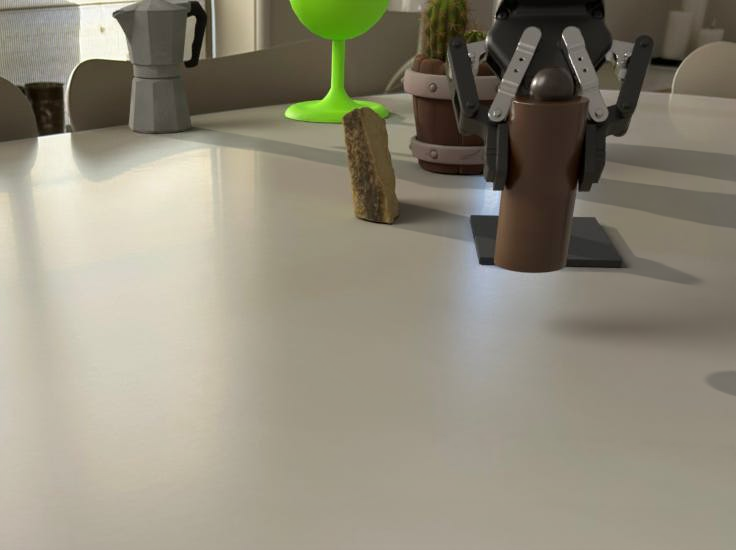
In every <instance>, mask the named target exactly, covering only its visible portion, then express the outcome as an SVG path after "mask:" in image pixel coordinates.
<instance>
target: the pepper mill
mask: <svg viewBox="0 0 736 550" xmlns="http://www.w3.org/2000/svg"><path fill="white" fill-rule="evenodd" d="M573 90H574V84H573V80H572V77H571V75H570V74H569V72H568V71H567V70H566V69H564V68H562V67H560V66H549V67H546V68H544V69H542V70H540V71H539V72H538V73H537V74H536V75H535V77H534V78H533V80H532V82H531V84H530V88H529V94H527V95H519V96H515V97H513V98H512V99H511V105H510V114H509V123H508V124H509V137H508V167H507V177H506V182H505V186H504V191H500V200H499V209H498V215H499V218H498V227H497V236H496V246H495V255H494V263H495V264H494V265H495V266H497V267H498V268H500V269H502V270H505V271H509V272H515V273H522V274H523V273H525V274H527V273H528V274H543V273H544V274H545V273H546V274H547V273H553V272H558V271H560V270H563V269H564V268H565V267H567V266H566V261H567V254H568V248H569V241H570V234H571V227H572V220H573V217H574V213H575V205H576V198H577V191H578V178H579V171H580V164H581V157H582V150H583V143H584V136H585V129H586V122H587V115H588V108H589V102H590V100H589V99H588V98H586V97H583V96H577V95H573Z"/></svg>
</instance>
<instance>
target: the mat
mask: <svg viewBox="0 0 736 550" xmlns="http://www.w3.org/2000/svg"><path fill="white" fill-rule="evenodd" d="M469 217H470V218H469V222H470V227H471V233H472V237H473V242H474V246H475V252H476V256H477V260H478V261H477V262H478V265H495V263H494V255H495V246H496V236H497V227H498V218H499V214H498V215H497V214H496V215H495V214H494V215H493V214H491V215H490V214H470V216H469ZM622 265H623V258H622V257H621V256H620V254H619V253H618V250H616V248H615V246H614V245H613V244H612V242H611V240H610V239H609V237H608V236H607V234H606V232H605V231H604V229H603V227H602V226H601V224H600V223H599V221H598V220H597V217H595V216H573V220H572V227H571V234H570V241H569V248H568V254H567V261H566V266H565V267H586V268H587V267H590V268H622Z"/></svg>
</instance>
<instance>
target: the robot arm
mask: <svg viewBox="0 0 736 550" xmlns="http://www.w3.org/2000/svg"><path fill="white" fill-rule="evenodd" d="M491 9H492V10H491V11H492V12H491V27H490V29H489V30H488V31H489V32H487V33H486V35H487V36H486V38H485V40H483V41H478V42H473V43H469V44H466V41H465V39H464V38H462V37H460V36H455V37H452V38H451V39H450V40H449V42H448V48H447V57H446V67H445V72H446V76H447V81H448V85H449V90H450V94H451V99H452V103H453V108H454V112H455V117H456V122H457V126H458V130H459V133H460V134H461V135H463V136H470V135H472V134H476V135H478V136H480V137H481V138H482V139H483V140H484V144H485V147H484V173H483V172H482V174H483V178H484V180H485V183H492V191H493V192H501V191H504V186H505V182H506V177H507V167H508V137H509V124H508V123H509V114H510V105H511V99H512V98H513V97H515V96H519V95H527V94H529V88H530V84H531V82H532V80H533V78H534V77H535V75H536V74H537V73H538V72H539V71H540V70H542V69H544V68H546V67H549V66H560V67H562V68H564V69H566V70H567V71H568V72H569V74H570V75H571V77H572V80H573V84H574V90H573V95H577V96H583V97H586V98H588V99H589V100H590V102H589V108H588V115H587V122H586V129H585V136H584V143H583V150H582V157H581V164H580V171H579V178H578V185H577V191H578V192H579V193H590V192H591V188H592V186H593V184H598V183H599V181H600V179H601V177H602V174H603V171H604V169H605V166H606V153H607V151H606V149H607V148H606V146H607V143H606V142H607V137H609V136H613V137H615V138H621V137H624V136H626V134H627V132H628V130H629V128H630V124H631V120H632V118H633V115H635V111H636V109H637V106H638V102H639V98H640V95H641V92H642V88H643V84H644V80H645V77H646V74H647V71H648V66H649V62H650V59H651V56H652V52H653V48H654V44H655V41H654V39H653V38H652V36H651V35H650V36H649V35H646V34H643V35H639V36H638V37H637V38H636V39H635V41H634V42H629V41H624V40H618V39H614V37H613V34H612V32H611V30H610V29H609V27H608V25H607V21H606V0H492V8H491ZM484 61H485V63H486V64H487V65H488V67H489V68H490V69H491V70H492V72H493V73H494V74H495V75H496V77H497V78H498V79H499V80H500V82H501V84H500V87H499V90H498V92H497V95H496V97H495V99H494V101H493V103H492V105H491V107H487V106H483V105H480V102H479V98H478V94H477V89H476V85H475V80H474V77H476V76H477V74H478V68H479V65H480V64H481V63H482V62H484ZM606 62H610V63H611V64H612V66H613V74H614V76H615V77H616V81H618V82H621V85H620V89H619V93H618V96H617V100H616V103H615V104H612V105H608V106H607V104H606V102H605V100H604V97H603V96H602V93H601V91H600V79H599V77H598V74H597V73H598V72H599V71H600V69H601V68H602V67H603V66H604V65H605V63H606Z"/></svg>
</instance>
